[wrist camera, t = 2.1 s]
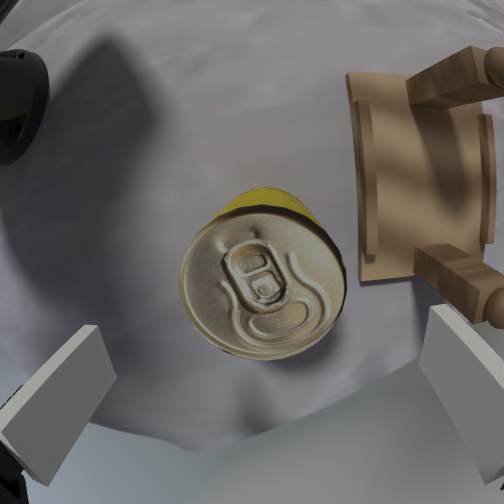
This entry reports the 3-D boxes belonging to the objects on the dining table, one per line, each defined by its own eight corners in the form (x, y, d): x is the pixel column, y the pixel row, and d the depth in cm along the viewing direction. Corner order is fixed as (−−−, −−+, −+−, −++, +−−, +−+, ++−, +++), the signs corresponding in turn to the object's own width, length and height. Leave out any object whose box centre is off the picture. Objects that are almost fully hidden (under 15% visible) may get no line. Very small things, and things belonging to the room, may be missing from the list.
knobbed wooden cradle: (345, 75, 22) (408, 4, 9) (472, 91, 21) (566, 70, 7) (358, 276, 28) (417, 365, 14) (476, 263, 26) (559, 318, 13)
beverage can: (249, 299, 29) (236, 380, 17) (198, 220, 27) (147, 261, 16) (332, 255, 27) (371, 317, 16) (284, 168, 25) (295, 171, 14)
